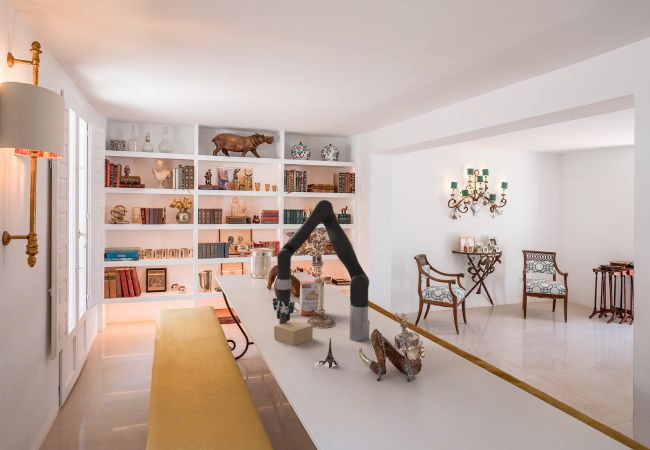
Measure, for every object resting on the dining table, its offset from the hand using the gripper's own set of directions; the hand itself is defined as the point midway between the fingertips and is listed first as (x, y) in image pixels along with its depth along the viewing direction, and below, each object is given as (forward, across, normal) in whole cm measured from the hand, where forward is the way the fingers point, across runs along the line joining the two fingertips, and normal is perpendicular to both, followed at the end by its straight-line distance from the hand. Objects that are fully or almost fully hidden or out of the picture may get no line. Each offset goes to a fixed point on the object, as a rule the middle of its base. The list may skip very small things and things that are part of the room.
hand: (283, 319), depth 220 cm
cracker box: (+9, +17, -42) cm, 46 cm away
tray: (+8, -6, 0) cm, 10 cm away
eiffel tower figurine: (+9, -42, +14) cm, 45 cm away
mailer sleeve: (+8, -8, 0) cm, 11 cm away
